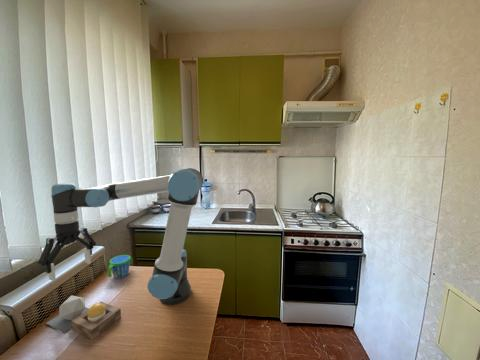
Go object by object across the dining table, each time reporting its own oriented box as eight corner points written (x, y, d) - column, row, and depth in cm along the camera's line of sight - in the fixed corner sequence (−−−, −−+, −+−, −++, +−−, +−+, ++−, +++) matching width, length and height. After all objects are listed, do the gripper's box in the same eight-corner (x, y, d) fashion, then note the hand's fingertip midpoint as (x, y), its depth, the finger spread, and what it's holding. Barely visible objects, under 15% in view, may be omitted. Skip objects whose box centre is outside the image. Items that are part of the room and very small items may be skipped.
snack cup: (115, 285, 111) (114, 267, 110) (101, 280, 115) (100, 263, 114) (138, 270, 126) (138, 254, 125) (126, 267, 130) (125, 251, 129)
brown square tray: (120, 317, 89) (120, 308, 89) (92, 339, 78) (91, 330, 78) (101, 309, 94) (100, 301, 93) (71, 330, 82) (71, 320, 82)
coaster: (95, 312, 92) (95, 310, 92) (64, 333, 81) (64, 331, 81) (77, 305, 96) (77, 303, 96) (46, 324, 85) (46, 323, 85)
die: (91, 313, 91) (88, 290, 95) (75, 318, 83) (73, 292, 87) (71, 322, 90) (69, 298, 94) (53, 328, 82) (52, 301, 86)
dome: (109, 318, 87) (108, 301, 87) (94, 329, 82) (93, 311, 81) (99, 314, 90) (98, 298, 89) (84, 324, 84) (83, 307, 83)
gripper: (91, 213, 98) (95, 256, 100) (21, 230, 75) (27, 285, 77) (102, 214, 95) (106, 258, 97) (33, 232, 72) (40, 290, 74)
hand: (71, 270), depth 87 cm, fingers open, 13 cm apart
